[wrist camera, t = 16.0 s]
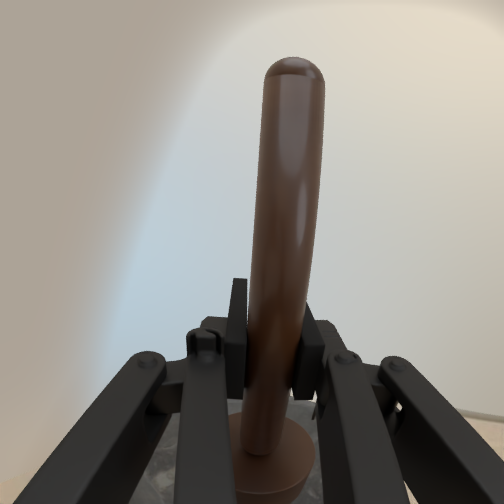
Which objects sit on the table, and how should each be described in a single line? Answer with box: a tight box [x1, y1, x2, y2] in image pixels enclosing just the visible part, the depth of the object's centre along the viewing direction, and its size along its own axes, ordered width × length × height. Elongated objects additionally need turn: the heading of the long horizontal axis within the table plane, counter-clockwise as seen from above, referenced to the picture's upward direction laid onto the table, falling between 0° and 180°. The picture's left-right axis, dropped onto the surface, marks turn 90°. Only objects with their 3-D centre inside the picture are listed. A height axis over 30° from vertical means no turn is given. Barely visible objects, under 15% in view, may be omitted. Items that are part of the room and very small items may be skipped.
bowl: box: [128, 396, 324, 504], centre depth 14 cm, size 18×18×8 cm
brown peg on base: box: [228, 57, 325, 504], centre depth 10 cm, size 6×6×20 cm
